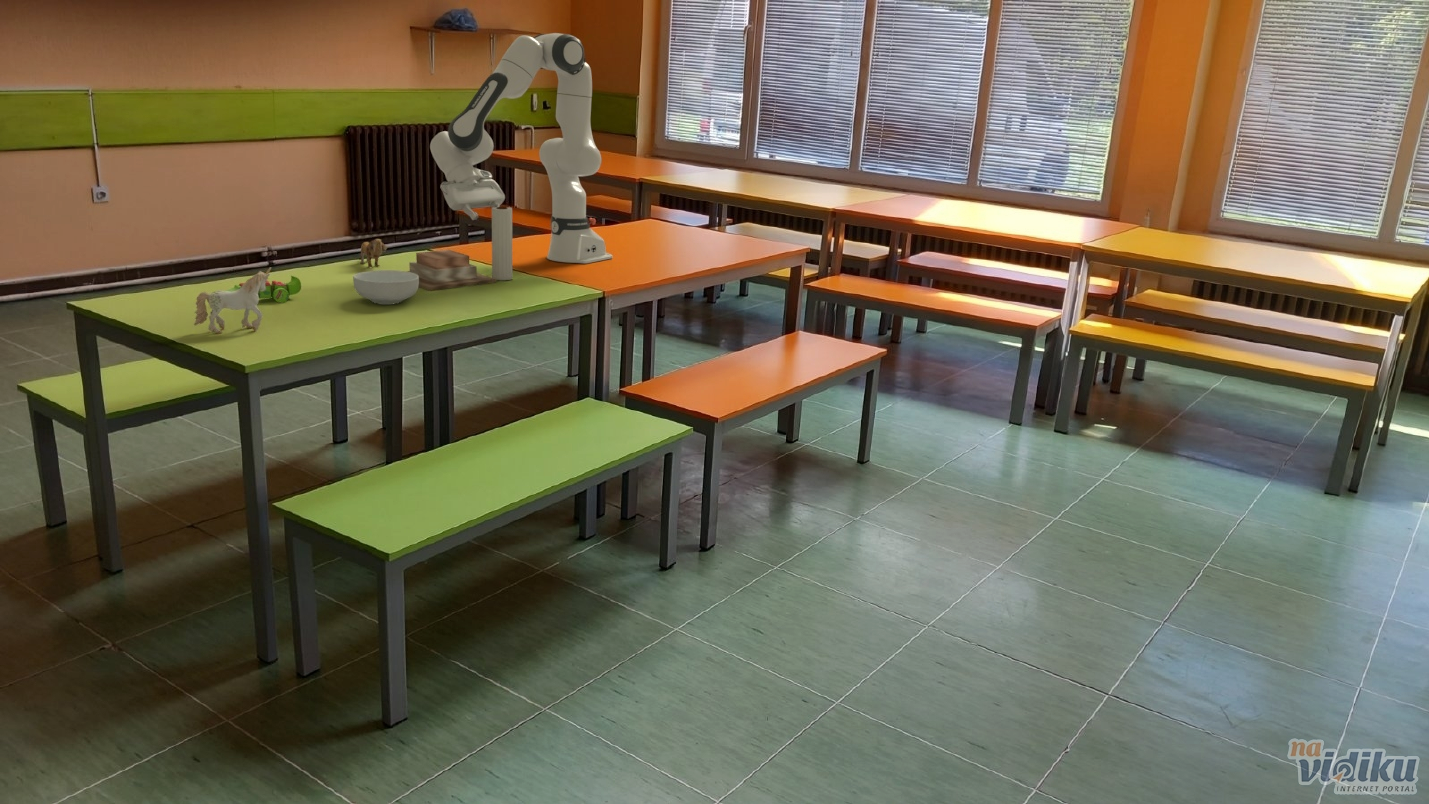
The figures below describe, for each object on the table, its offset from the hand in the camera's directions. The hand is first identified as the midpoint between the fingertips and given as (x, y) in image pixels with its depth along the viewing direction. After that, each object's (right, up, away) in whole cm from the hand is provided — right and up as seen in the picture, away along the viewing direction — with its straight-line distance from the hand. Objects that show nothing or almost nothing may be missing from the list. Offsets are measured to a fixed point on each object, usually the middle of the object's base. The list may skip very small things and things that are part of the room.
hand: (487, 217), depth 316 cm
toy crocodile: (-50, -29, -40) cm, 71 cm away
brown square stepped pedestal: (-12, -19, -4) cm, 23 cm away
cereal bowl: (-20, -29, -33) cm, 48 cm away
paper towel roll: (+5, -18, +2) cm, 19 cm away
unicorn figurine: (-45, -38, -65) cm, 88 cm away
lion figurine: (-38, -13, +9) cm, 41 cm away
